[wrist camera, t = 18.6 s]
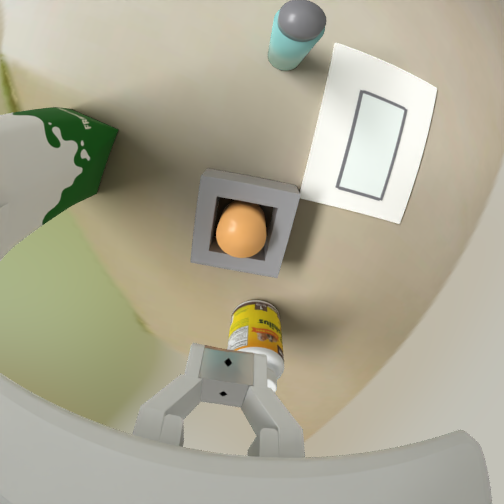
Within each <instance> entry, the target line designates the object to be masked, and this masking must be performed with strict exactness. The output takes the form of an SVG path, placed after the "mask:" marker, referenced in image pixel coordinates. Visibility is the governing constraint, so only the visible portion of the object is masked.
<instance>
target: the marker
mask: <svg viewBox="0 0 504 504" xmlns="http://www.w3.org/2000/svg"><path fill="white" fill-rule="evenodd" d="M325 25H326V16H325V14H324V12H323V10H322V9H321V8H320V7H319V6H318V5H316V4H315V3H313V2H310V1H307V0H291V1H289V2H287V3H285V4H284V5H283V6H282V7H281V9H280V10H279V11H278V12H277V13H276V15H275V17H274V22H273V28H272V33H271V39H270V45H269V51H268V59H269V62H270V63H271V64H272V66H274V67H275V68H277V69H279V70H284V71H287V70H292V69H294V68H296V67H297V66H298V65H299V63H300V62H301V61H302V60H303V58H304V57H305V56H306V55H307V54H308V52H309V51H310V50H311V49H312V48H313V47H314V45H315V44H316V43H317V42H318V41H319V40H320V38H321V37H322V36H323V34H324V31H325Z"/></svg>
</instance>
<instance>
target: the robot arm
mask: <svg viewBox="0 0 504 504" xmlns="http://www.w3.org/2000/svg"><path fill="white" fill-rule="evenodd" d="M200 401H202V402H209V403H216V404H223V405H228V406H235V407H241V409H242V411H243V413H244V415H245V416H246V418H247V420H248V422H249V424H250V425H251V427H252V429H253V430H254V432H255V434H256V435H257V437H256V438H255V440H254V442H253V443H252V444H251V446H250V447H249V449H248V456H241V455H232V454H223V453H215V452H208V451H202V450H196V449H190V448H185V447H183V443H184V426H183V420H184V419H185V418H186V416H187V415H188V414H189V413H190V412H191V411H192V410H193V409H194V408H195V407H196V406H197V405H198V404H199V403H200ZM0 504H492V497H491V488H490V482H489V476H488V471H487V466H486V462H485V458H484V454H483V451H482V448H481V446H480V444H479V443H478V442H477V441H476V440H475V439H474V438H472V437H471V436H470V435H469V434H468V433H467V432H465V431H463V430H458V431H454V432H452V433H448V434H445V435H442V436H439V437H435V438H432V439H428V440H425V441H421V442H417V443H413V444H409V445H405V446H400V447H395V448H390V449H384V450H378V451H372V452H365V453H358V454H349V455H339V456H327V457H305V452H304V439H303V429H302V428H301V426H300V425H299V424H298V423H297V421H296V420H295V419H294V418H293V416H292V415H291V414H290V412H289V411H288V410H287V408H286V407H285V406H284V405H283V403H282V402H281V401H280V399H279V398H278V397H277V395H276V394H275V393H274V391H273V390H272V389H271V388H268V384H267V356H266V355H265V354H257V353H252V352H244V351H237V350H230V349H229V350H227V349H222V348H217V347H212V346H207V345H202V344H197V343H192V345H191V349H190V353H189V357H188V361H187V366H186V370H185V374H184V375H181V374H180V375H179V376H178V377H177V378H176V379H174V380H173V381H172V382H171V383H170V384H168V385H167V386H166V387H164V388H163V389H162V390H161V391H159V392H158V393H157V394H156V395H154V396H153V397H152V398H150V399H149V400H148V401H147V402H145V403H144V404H143V405H141V407H140V410H139V414H138V417H137V420H136V424H135V427H134V431H133V434H129V433H126V432H123V431H120V430H117V429H114V428H111V427H108V426H105V425H102V424H99V423H97V422H94V421H92V420H89V419H87V418H84V417H82V416H79V415H77V414H75V413H73V412H70V411H68V410H66V409H64V408H62V407H59V406H57V405H55V404H53V403H51V402H49V401H47V400H45V399H43V398H42V397H40V396H38V395H36V394H34V393H32V392H30V391H29V390H27V389H25V388H23V387H22V386H20V385H18V384H17V383H15V382H13V381H12V380H10V379H9V378H7V377H6V376H4V375H2V374H1V373H0Z"/></svg>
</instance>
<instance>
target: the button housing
mask: <svg viewBox="0 0 504 504" xmlns="http://www.w3.org/2000/svg"><path fill="white" fill-rule="evenodd" d="M300 195H301V194H300V193H299V191H298V189H297V187H296V185H292V184H287V183H283V182H278V181H273V180H268V179H264V178H259V177H253V176H248V175H243V174H238V173H232V172H226V171H221V170H215V169H208V168H207V169H206V171H205V172H204V173H203V174H202V175H201V179H200V186H199V193H198V201H197V208H196V216H195V225H194V233H193V242H192V252H191V262H192V263H197V264H202V265H208V266H213V267H218V268H224V269H229V270H235V271H240V272H246V273H251V274H257V275H263V276H269V277H274V278H277V277H278V274H279V271H280V267H281V264H282V260H283V257H284V253H285V250H286V246H287V243H288V239H289V235H290V232H291V228H292V225H293V221H294V217H295V214H296V210H297V206H298V202H299V199H300ZM220 197H223V198H229V199H234V200H240V201H245V202H250V203H255V204H261V205H266V206H271V207H273V211H272V216H271V220H270V224H269V228H268V232H267V236H266V241H265V245H264V246H263V248H262V249H261V250H260V251H259V252H258V253H257V254H255V255H253V256H251V257H247V258H237V257H233V256H230V255H228V254H227V253H225V252H224V251H223V250H222V249H221V248H220V246H219V244H218V242H217V239H216V237H214V230H215V223H216V217H217V210H218V204H219V198H220Z"/></svg>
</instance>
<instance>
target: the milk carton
mask: <svg viewBox="0 0 504 504" xmlns="http://www.w3.org/2000/svg"><path fill="white" fill-rule="evenodd" d="M117 133H118V129H116V128H114V127H111V126H109V125H107V124H105V123H102V122H100V121H98V120H95V119H93V118H91V117H88V116H86V115H84V114H81V113H79V112H76V111H74V110H71V109H67V108H58V107H53V108H43V109H35V110H28V111H21V112H15V113H9V114H4V115H0V261H1V260H2V258H3V257H4V256H5V255H6V254H7V253H8V252H9V251H10V250H11V249H12V248H13V247H14V246H15V245H17V244H18V243H19V242H21V241H22V240H23V239H24V238H26V237H27V236H28V235H30V234H31V233H32V232H34V231H35V230H37V229H38V228H39V227H41V226H42V225H44V224H45V223H46V222H48V221H49V220H51V219H52V218H54V217H55V216H57V215H58V214H60V213H61V212H63V211H64V210H66V209H67V208H69V207H71V206H72V205H74V204H76V203H78V202H80V201H82V200H84V199H86V198H88V197H91V196H93V195H95V194H97V191H98V188H99V184H100V181H101V178H102V175H103V172H104V169H105V166H106V163H107V160H108V157H109V154H110V151H111V149H112V146H113V143H114V141H115V138H116V135H117Z"/></svg>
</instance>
